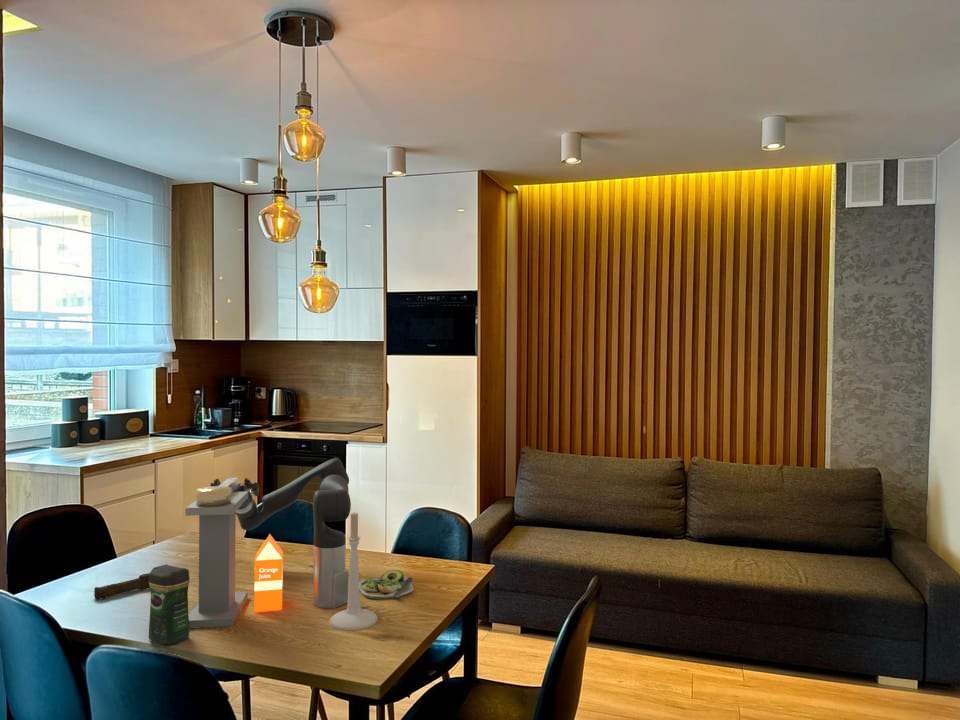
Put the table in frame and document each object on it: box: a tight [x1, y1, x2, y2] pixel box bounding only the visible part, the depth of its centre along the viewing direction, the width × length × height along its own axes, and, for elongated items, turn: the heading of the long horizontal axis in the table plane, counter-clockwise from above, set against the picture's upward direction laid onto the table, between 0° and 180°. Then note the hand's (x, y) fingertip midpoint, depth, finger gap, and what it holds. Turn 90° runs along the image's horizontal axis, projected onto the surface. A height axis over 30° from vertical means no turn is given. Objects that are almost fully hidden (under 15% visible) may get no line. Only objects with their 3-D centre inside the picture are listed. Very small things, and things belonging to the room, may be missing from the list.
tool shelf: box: [185, 492, 249, 629], centre depth 194 cm, size 22×12×32 cm, turn 8°
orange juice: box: [253, 533, 284, 613], centre depth 200 cm, size 8×9×20 cm
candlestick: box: [329, 511, 378, 631], centre depth 188 cm, size 13×13×30 cm
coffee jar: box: [148, 564, 191, 646], centre depth 175 cm, size 10×8×19 cm
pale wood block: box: [195, 477, 239, 507], centre depth 199 cm, size 30×9×4 cm, turn 8°
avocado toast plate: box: [359, 569, 415, 600], centre depth 213 cm, size 19×18×5 cm
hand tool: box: [93, 572, 150, 601], centre depth 210 cm, size 19×4×5 cm, turn 137°
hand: (231, 481), depth 210 cm, fingers open, 8 cm apart
